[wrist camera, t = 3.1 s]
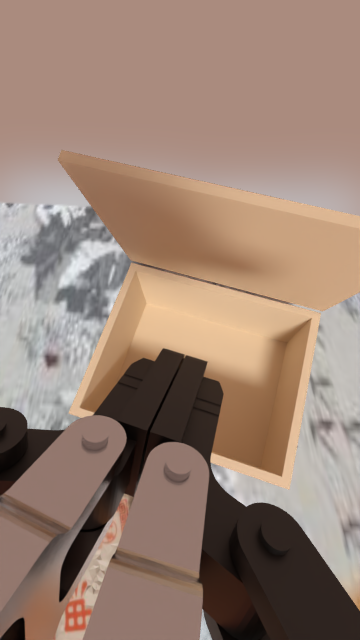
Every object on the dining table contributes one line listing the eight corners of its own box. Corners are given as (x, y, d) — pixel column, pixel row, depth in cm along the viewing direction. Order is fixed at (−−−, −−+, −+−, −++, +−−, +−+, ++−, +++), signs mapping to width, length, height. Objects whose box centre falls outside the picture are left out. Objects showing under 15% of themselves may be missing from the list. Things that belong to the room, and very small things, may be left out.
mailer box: (97, 419, 30) (68, 413, 23) (144, 298, 34) (132, 261, 27) (264, 476, 28) (289, 489, 21) (292, 340, 32) (321, 312, 25)
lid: (57, 160, 14) (62, 147, 14) (130, 260, 27) (133, 253, 27) (444, 248, 12) (447, 233, 12) (322, 311, 25) (324, 304, 25)
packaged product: (198, 805, 18) (25, 845, 18) (197, 732, 23) (59, 762, 22) (152, 466, 24) (23, 491, 24) (158, 462, 29) (50, 483, 29)
